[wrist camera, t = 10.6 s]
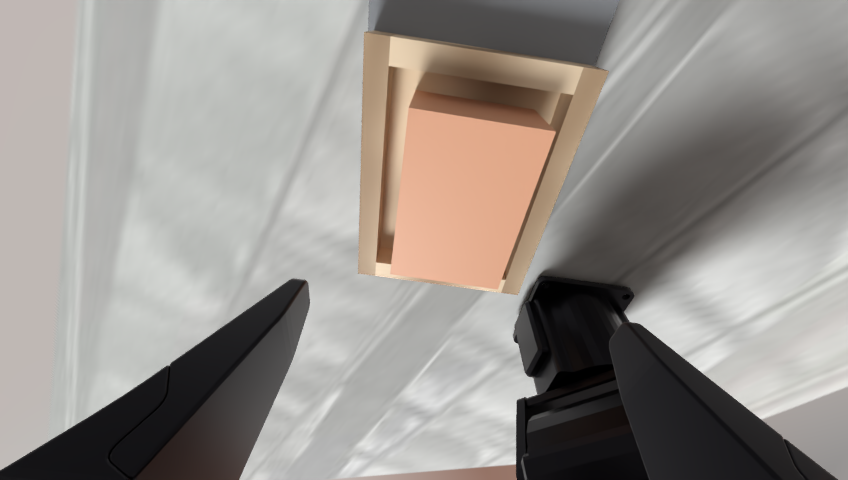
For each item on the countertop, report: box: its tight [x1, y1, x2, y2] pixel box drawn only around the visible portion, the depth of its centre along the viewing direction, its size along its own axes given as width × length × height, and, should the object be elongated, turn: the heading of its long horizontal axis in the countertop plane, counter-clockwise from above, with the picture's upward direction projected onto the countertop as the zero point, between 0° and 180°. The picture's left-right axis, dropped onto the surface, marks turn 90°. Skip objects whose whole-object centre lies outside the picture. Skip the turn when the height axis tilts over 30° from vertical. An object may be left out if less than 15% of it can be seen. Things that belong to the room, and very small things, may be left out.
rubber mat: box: [368, 0, 619, 66], centre depth 14 cm, size 10×25×1 cm, turn 172°
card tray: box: [358, 30, 609, 295], centre depth 17 cm, size 10×12×2 cm
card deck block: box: [390, 90, 556, 289], centre depth 16 cm, size 8×6×4 cm
